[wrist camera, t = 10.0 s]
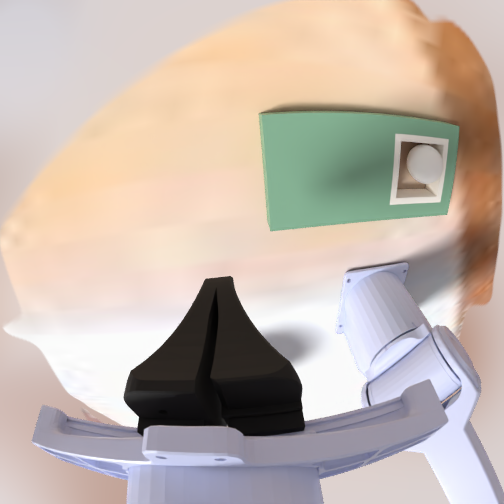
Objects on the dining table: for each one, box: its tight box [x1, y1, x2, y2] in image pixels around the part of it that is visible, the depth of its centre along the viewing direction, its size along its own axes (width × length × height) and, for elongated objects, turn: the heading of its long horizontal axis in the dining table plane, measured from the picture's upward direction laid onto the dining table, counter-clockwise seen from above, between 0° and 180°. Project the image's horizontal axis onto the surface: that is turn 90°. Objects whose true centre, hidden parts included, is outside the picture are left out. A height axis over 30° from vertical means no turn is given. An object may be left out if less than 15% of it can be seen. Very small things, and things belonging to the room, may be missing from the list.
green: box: [259, 111, 459, 231], centre depth 20 cm, size 9×18×2 cm, turn 95°
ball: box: [407, 144, 443, 184], centre depth 19 cm, size 4×4×4 cm
